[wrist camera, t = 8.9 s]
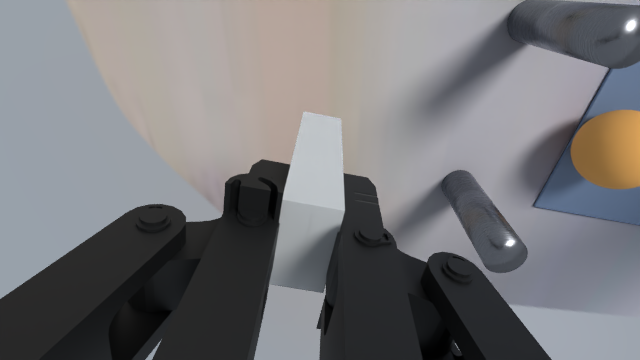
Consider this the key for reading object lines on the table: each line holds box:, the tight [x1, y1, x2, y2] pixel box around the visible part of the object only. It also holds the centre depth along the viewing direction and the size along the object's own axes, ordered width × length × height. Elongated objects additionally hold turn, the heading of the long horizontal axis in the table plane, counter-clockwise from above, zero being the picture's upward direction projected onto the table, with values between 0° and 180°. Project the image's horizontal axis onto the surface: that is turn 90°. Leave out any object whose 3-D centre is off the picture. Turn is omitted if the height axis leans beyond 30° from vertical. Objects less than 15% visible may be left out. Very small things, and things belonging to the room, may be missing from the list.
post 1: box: [442, 170, 528, 273], centre depth 26 cm, size 3×3×9 cm
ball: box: [571, 110, 640, 189], centre depth 25 cm, size 6×6×6 cm
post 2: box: [507, 0, 640, 69], centre depth 20 cm, size 3×3×9 cm
